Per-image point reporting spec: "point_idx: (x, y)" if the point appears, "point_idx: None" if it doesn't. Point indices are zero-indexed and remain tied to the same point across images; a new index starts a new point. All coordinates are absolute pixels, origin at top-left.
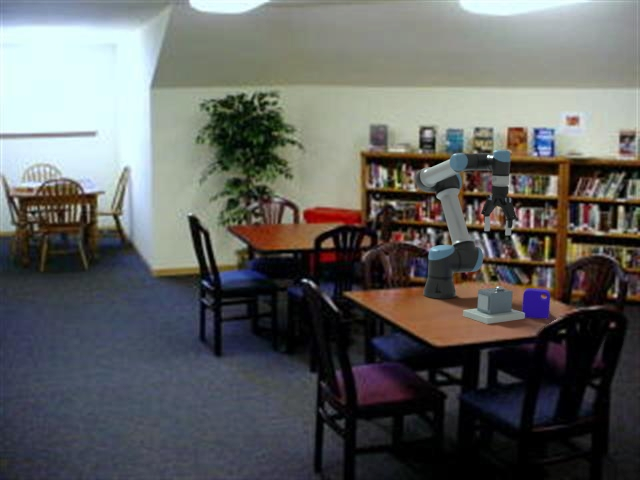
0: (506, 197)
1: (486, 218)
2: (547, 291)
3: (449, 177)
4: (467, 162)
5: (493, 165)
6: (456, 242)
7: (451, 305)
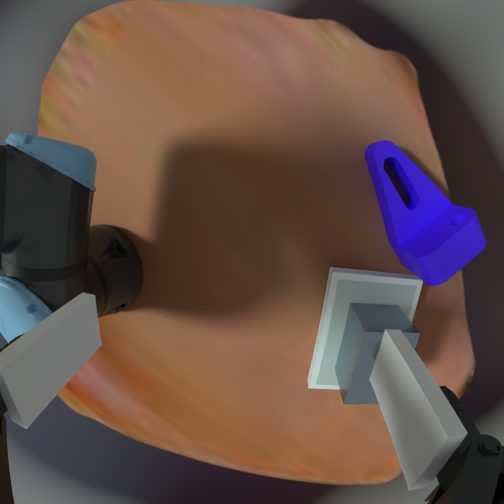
0: None
1: (34, 413)
2: (480, 231)
3: None
4: None
5: None
6: None
7: (208, 328)
